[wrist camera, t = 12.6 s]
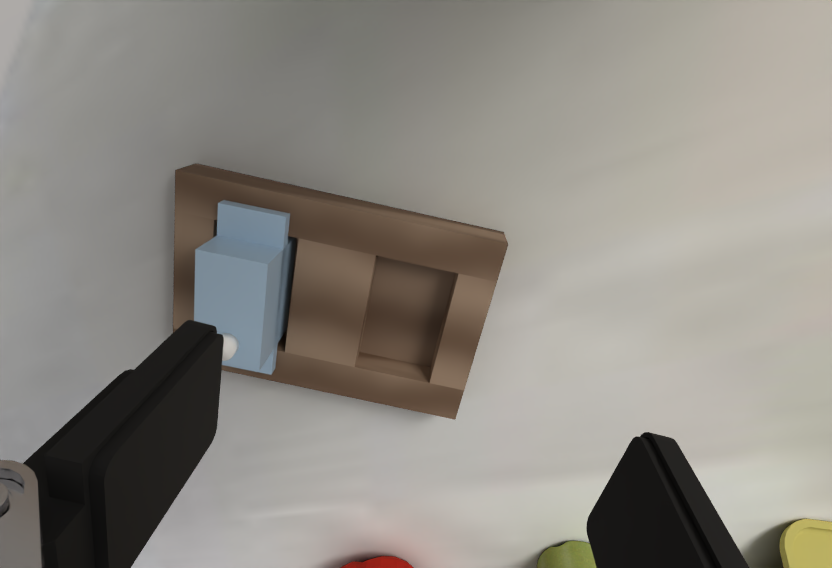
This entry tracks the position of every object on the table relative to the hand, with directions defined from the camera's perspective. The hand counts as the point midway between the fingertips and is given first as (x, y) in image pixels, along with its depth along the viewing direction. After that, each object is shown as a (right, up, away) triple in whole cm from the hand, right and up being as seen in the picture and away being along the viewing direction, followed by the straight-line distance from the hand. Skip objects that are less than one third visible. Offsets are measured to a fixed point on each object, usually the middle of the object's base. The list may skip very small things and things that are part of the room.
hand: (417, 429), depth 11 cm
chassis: (-6, +3, +22) cm, 23 cm away
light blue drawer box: (-10, +4, +22) cm, 24 cm away
